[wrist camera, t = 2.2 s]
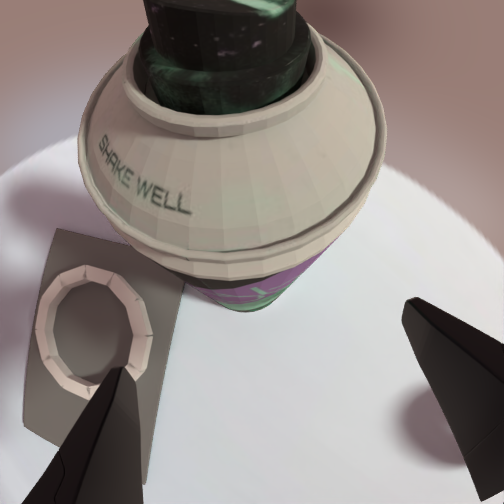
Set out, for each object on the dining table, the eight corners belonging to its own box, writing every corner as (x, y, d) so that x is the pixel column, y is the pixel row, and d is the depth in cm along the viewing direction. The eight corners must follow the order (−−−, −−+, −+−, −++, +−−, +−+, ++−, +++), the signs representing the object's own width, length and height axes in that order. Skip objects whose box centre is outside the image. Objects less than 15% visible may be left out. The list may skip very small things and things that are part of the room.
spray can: (207, 234, 22) (86, -53, 3) (284, 234, 22) (384, -63, 3) (205, 311, 21) (-78, 215, 2) (285, 312, 21) (545, 214, 2)
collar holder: (145, 482, 18) (139, 491, 16) (26, 425, 18) (15, 429, 17) (190, 260, 22) (185, 255, 20) (59, 229, 22) (49, 223, 21)
